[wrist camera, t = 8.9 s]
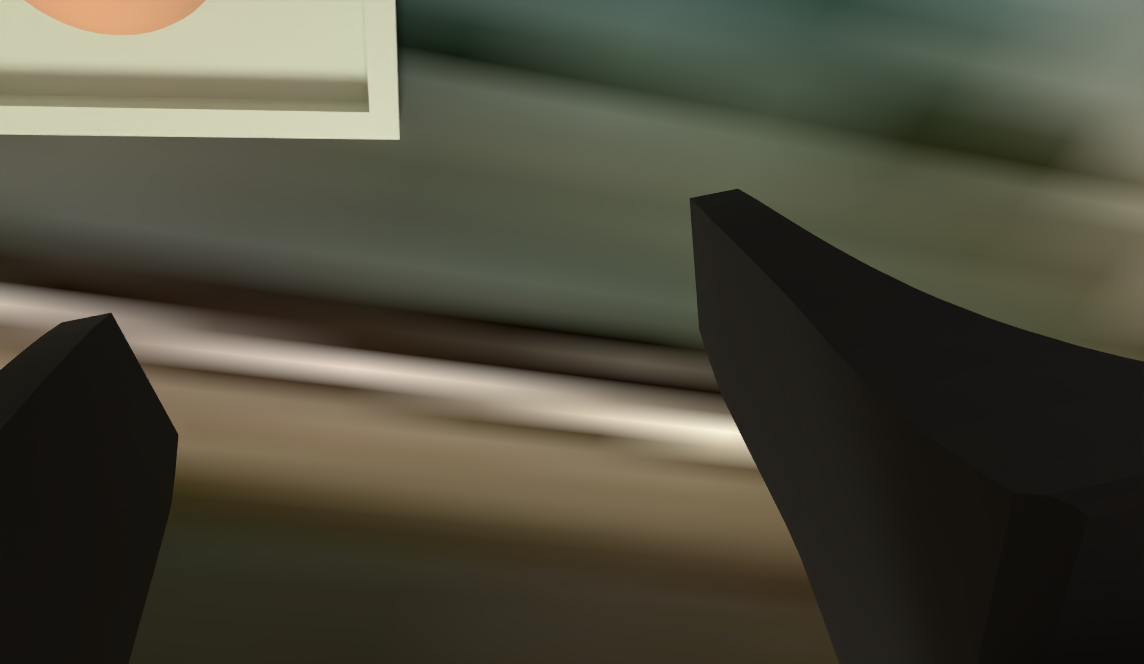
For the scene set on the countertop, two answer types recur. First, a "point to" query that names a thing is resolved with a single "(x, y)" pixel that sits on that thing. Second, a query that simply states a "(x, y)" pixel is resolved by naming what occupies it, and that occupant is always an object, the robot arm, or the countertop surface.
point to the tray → (207, 73)
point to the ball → (117, 14)
